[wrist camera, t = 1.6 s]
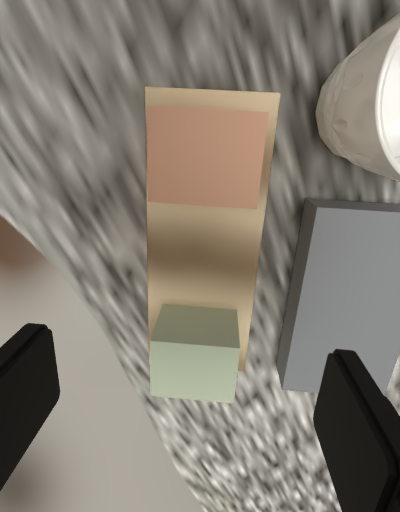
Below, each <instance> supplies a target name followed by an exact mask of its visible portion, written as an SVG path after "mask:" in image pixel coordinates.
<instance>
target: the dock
mask: <svg viewBox="0 0 400 512" xmlns="http://www.w3.org/2000/svg"><path fill="white" fill-rule="evenodd" d="M335 349H344V350H353V351H355V352H356V353H357V355H358V356H359V358H360V359H361V361H362V362H363V364H364V365H365V367H366V369H367V370H368V372H369V373H370V375H371V376H372V378H373V380H374V381H375V383H376V384H377V386H378V387H379V389H380V390H381V392H382V394H383V395H385V392H386V389H387V386H388V383H389V381H390V378H391V375H392V372H393V369H394V367H395V364H396V361H397V358H398V355H399V353H400V204H391V203H374V202H358V201H342V200H326V199H310V198H305V204H304V209H303V215H302V221H301V226H300V232H299V238H298V243H297V249H296V255H295V260H294V266H293V272H292V277H291V283H290V288H289V294H288V300H287V305H286V311H285V317H284V322H283V328H282V334H281V339H280V345H279V351H278V356H277V362H276V366H277V370H278V374H279V379H280V383H281V387H282V390H290V391H301V392H312V393H319V390H320V385H321V381H322V377H323V373H324V368H325V364H326V360H327V356H328V354H329V353H333V351H334V350H335Z"/></svg>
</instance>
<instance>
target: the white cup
mask: <svg viewBox="0 0 400 512" xmlns="http://www.w3.org/2000/svg"><path fill="white" fill-rule="evenodd" d="M315 115H316V120H317V126H318V131H319V137H320V138H321V139H322V140H323V142H324V143H325V144H326V146H327V147H328V148H329V149H330V151H331V152H332V153H333V154H335V155H337V156H339V157H342V158H344V159H347V160H349V161H350V162H351V163H353V164H355V165H357V166H359V167H362V168H364V169H366V170H368V171H371V172H374V173H376V174H379V175H382V176H385V177H387V178H390V179H393V180H396V181H398V182H400V11H399V12H398V13H397V14H395V15H394V16H393V17H392V18H390V19H389V20H388V21H387V22H385V23H384V24H383V25H382V26H380V27H379V28H378V29H377V30H376V31H375V32H374V33H372V34H371V35H370V36H369V37H368V38H367V39H365V40H364V41H363V42H362V43H361V44H360V45H358V46H357V47H356V48H355V49H354V50H353V51H352V52H351V54H350V55H349V56H347V57H346V58H345V59H343V60H342V61H341V62H339V63H338V65H337V66H336V67H335V69H334V70H333V72H332V73H331V74H330V76H329V77H328V79H327V80H326V81H325V83H324V84H323V86H322V87H321V91H320V95H319V99H318V103H317V107H316V112H315Z"/></svg>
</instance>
